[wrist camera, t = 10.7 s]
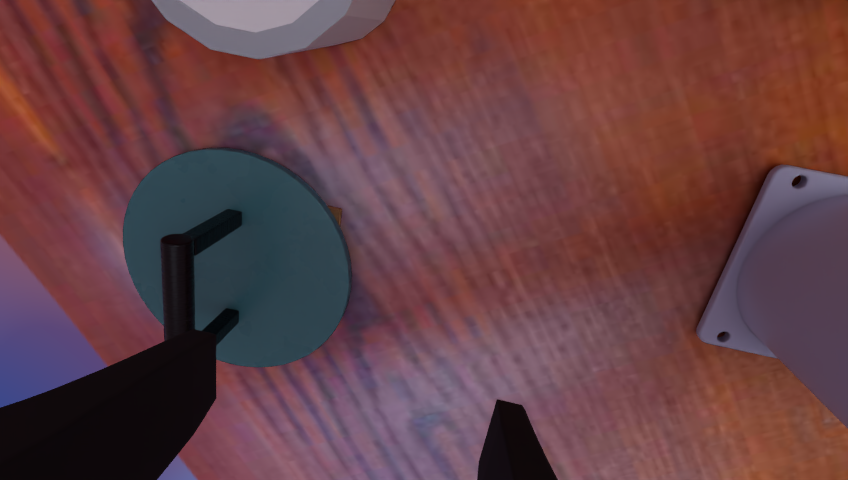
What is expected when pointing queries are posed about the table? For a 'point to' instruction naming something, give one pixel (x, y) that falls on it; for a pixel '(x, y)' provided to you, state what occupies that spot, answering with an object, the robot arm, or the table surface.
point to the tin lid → (238, 255)
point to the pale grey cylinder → (274, 23)
